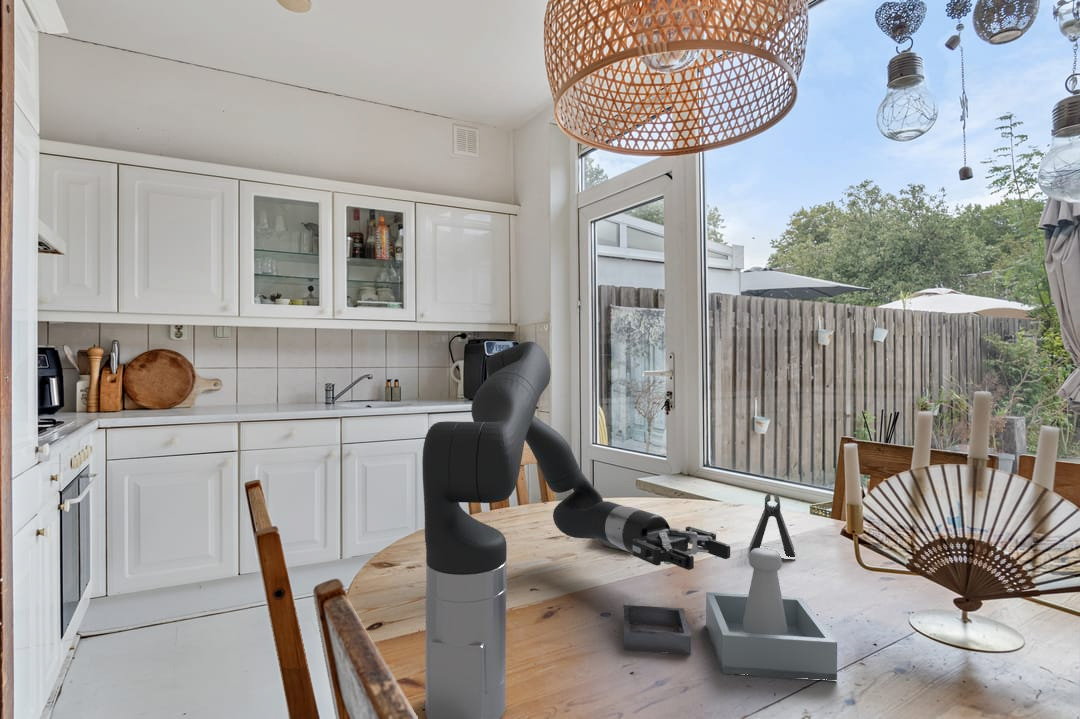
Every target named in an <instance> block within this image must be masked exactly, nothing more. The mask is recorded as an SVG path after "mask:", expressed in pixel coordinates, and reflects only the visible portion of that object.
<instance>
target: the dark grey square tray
mask: <svg viewBox="0 0 1080 719" xmlns="http://www.w3.org/2000/svg"><path fill="white" fill-rule="evenodd" d="M622 610H623V615H622V616H623V617H622V619H623V622H622V623H623V646H624V648H623V649H624V651H632V650H633V652H634V651H635V652H647V651H650V653H661V652H668V653H667V654H676V653H679V654H678V655H690V654H691V655H692V635H691V630H690V627H689V623H688V621H687V616H686V613H685V610H684V608H683V607H669V606H668V607H667V606H665V607H664V606H650V605H649V606H648V605H635V604H633V605H632V604H623V609H622ZM631 625H646V626H660V627H661V626H663V627H675V626H679V627H678V630H679V631H678V632H672V631H670V632H669V631H654V630H653V631H652V630H642V629H641V630H638V629H631ZM680 653H682V654H680Z"/></svg>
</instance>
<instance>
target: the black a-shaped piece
mask: <svg viewBox="0 0 1080 719" xmlns="http://www.w3.org/2000/svg"><path fill="white" fill-rule="evenodd" d="M773 498H774V499H773V500H774V502H775V503H776V505H773V506H772V505H769V502H771V492H770V493H767V494H766V495H765V497H764V509H763V511H762V514H761V516H760V519H759V521H758V523H757V525H756V529H755V531H754V533H753V535H752V538H751V540H750V543H749V547H748V548H749V550H748V554H749V553H750V551H752V550H753V549H755V548H760V546H762V543H763V538H764V535H765V532H766V529H767V525H768V522H769V519H770V518H771V517H773V518H775V519H776V520H775V521H776V524H777V529H778V531H779V536H780V539H781V542H782V546H783V549H784V551H785V554H786V556H788V557H789V556H790V557H795V556H796V552H794V549H795V547H794V544H793V541H792V539H791V537H790V533H789V531H788V527H787V525H786V523H785V520H784V517H783V514H782V512H781V502H780V501H781V500H780V497H779V495H777V493H774V495H773Z"/></svg>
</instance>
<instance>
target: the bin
mask: <svg viewBox="0 0 1080 719" xmlns="http://www.w3.org/2000/svg"><path fill="white" fill-rule="evenodd" d="M748 595H749V593H748V594H746V593H744V594H743V593H728V592H727V593H726V592H712V591H711V592H709V591H707V592H705V626H706V629H707V632H708V635H709V637H710V641H711V643H712V646H713V649H714V652H716V653H715V655H716V659H717V661H718V664H719V667H720V669H721V672H722V674H723V675H734V674H745V675H744V676H747V674H748V675H753V676H752V677H761V676H762V677H764V678H776V679H777V678H779V679H789V678H808V679H825V680H826V679H827V680H837V681H838V642H837V640H836V639H835V638H834V636H833V635H832V634H831V633H830V631H829V630H828V629H827V628H826V626H825V625H824V624H823V623H822V621H821V620H820V619H819V617H818V616H817V615H816V614H815V612H814V611H813V610H812V608H811V607H810V606H809V604H808V603H807V602H806V601H805V599H804V598H803V597H801V596H799V597H797V596H782V595H781V596H782V601H783V607H784V613H785V618H786V624H787V634H786V636H784V635H768V634H752V633H746V632H745V630H744V626H743V618H744V613H745V609H746V604H747V599H748Z"/></svg>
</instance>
